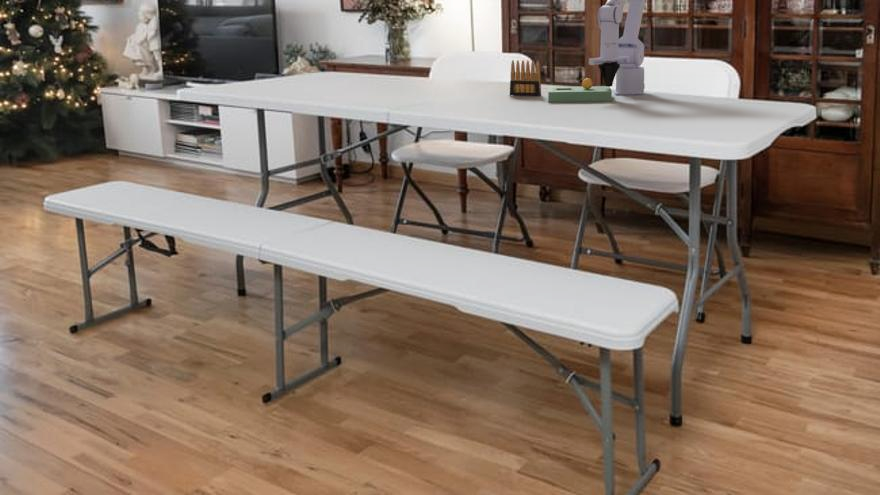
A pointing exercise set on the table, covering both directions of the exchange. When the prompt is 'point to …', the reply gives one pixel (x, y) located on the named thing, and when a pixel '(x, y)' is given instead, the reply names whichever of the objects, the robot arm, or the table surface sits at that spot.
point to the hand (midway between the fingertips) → (608, 86)
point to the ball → (587, 83)
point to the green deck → (580, 94)
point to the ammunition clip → (525, 80)
